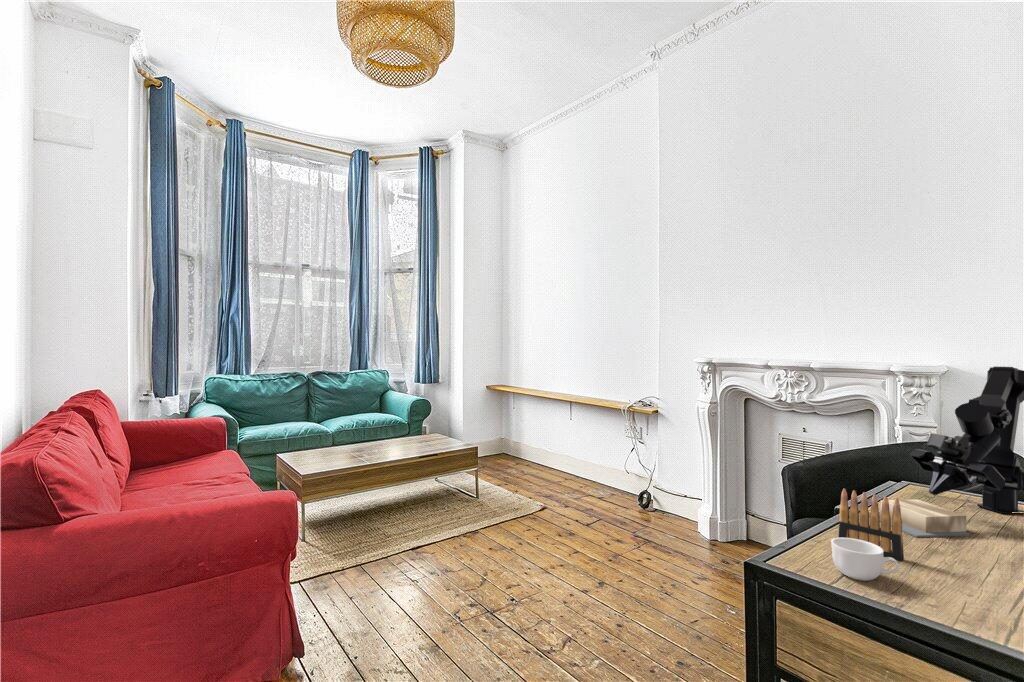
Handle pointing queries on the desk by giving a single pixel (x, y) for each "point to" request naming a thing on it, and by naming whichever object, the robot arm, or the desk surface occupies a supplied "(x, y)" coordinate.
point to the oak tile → (928, 516)
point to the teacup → (859, 558)
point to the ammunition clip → (872, 524)
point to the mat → (920, 533)
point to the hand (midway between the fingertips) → (931, 493)
